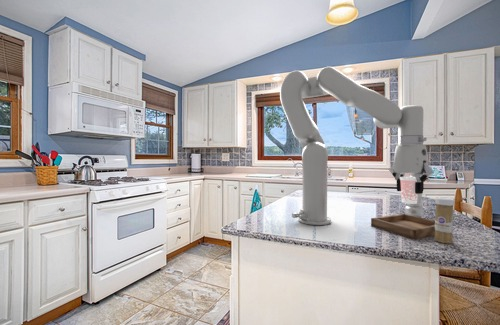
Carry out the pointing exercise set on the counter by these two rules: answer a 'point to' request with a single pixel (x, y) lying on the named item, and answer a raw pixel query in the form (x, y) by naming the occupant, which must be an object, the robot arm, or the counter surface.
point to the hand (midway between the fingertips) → (409, 191)
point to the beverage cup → (408, 190)
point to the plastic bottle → (415, 206)
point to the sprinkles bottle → (444, 219)
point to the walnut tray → (405, 225)
